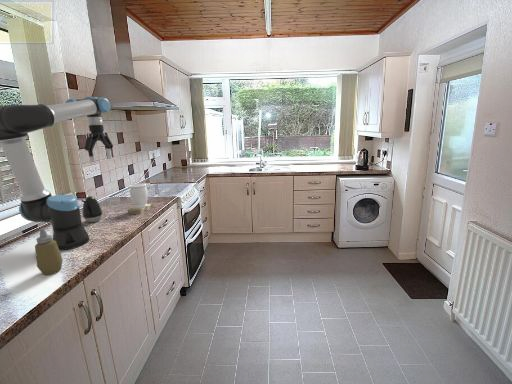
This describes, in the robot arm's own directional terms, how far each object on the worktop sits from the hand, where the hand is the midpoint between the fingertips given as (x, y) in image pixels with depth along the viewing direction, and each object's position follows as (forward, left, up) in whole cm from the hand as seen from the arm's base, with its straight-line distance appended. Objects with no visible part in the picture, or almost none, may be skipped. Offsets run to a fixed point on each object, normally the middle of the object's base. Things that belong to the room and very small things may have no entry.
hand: (101, 160), depth 166 cm
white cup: (+11, -15, -32) cm, 37 cm away
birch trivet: (+11, -14, -35) cm, 39 cm away
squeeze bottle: (-66, -27, -35) cm, 79 cm away
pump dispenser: (-12, +2, -35) cm, 37 cm away
